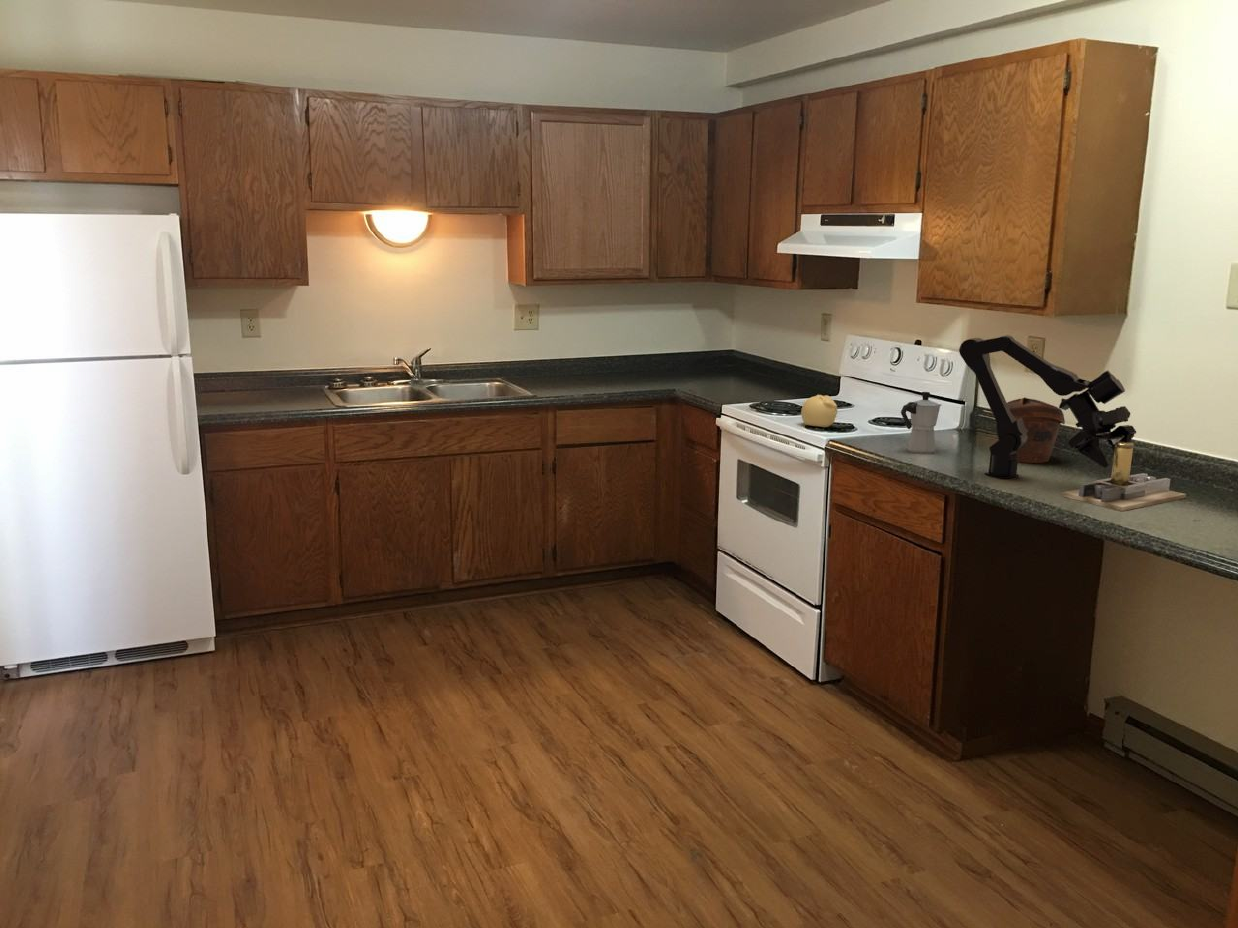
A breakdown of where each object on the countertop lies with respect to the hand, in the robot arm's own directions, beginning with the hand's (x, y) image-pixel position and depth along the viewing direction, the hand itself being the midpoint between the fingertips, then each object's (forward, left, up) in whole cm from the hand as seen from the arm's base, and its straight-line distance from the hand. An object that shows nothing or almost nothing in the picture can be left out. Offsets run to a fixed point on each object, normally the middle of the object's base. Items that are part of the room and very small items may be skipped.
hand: (1119, 465), depth 249 cm
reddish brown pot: (-41, +20, -9) cm, 47 cm away
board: (+1, +3, -8) cm, 9 cm away
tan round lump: (-108, 0, -9) cm, 109 cm away
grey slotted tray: (+1, +3, -7) cm, 8 cm away
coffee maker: (-63, -1, -8) cm, 64 cm away
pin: (+1, 0, -7) cm, 7 cm away
